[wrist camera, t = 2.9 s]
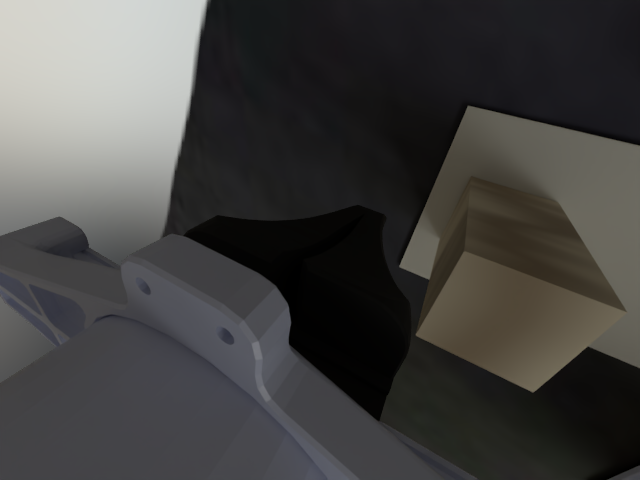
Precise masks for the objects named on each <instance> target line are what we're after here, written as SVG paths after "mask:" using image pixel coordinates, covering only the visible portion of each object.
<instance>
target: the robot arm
mask: <svg viewBox="0 0 640 480" xmlns="http://www.w3.org/2000/svg"><path fill="white" fill-rule="evenodd" d="M385 221H386V216H385V215H384V214H381V213H379V212H376V211H373V210H370V209H368V208H365V207H362V206H360V205H356V206H352V207H349V208H345V209H342V210H339V211H336V212H332V213H329V214H324V215H320V216H316V217H311V218H305V219H297V220H282V221H261V220H247V219H239V218H232V217H225V216H219V215H217V216H215V217H213V218H211V219H209V220H207V221H206V222H204V223H202V224H200V225H198V226H196V227H194V228H192V229H190V230H188V231H187V232H186V234H185V235H184V236H179V235H175V234H170V235H168V236H166V237H164V238H162V239H160V240H158V241H156V242H154V243H152V244H150V245H148V246H146V247H144V248H142V249H140V250H139V251H136V252H134V253H132V254H130V255H129V256H127V257H126V258H125V259H124V260H123V261H122V263H121V266H119V265H117V264H116V263H114V262H112V261H111V260H109V259H107V258H106V257H104V256H102V255H100V254H99V253H97V252H95V251H94V250H92V249H90V248H89V244H88V240H87V238H86V236H85V234H84V232H83V231H82V230H81V229H80V228H79V227H78V226H76V225H74V224H72V223H71V222H69V221H67V220H65V219H64V218H62V217H56V218H54V219H50V220H47V221H45V222H41V223H38V224H35V225H32V226H29V227H26V228H23V229H20V230H17V231H14V232H11V233H8V234H5V235H2V236H0V296H1V297H2V299H3V300H4V302H5V303H6V304H7V305H8V306H10V307H11V308H12V309H13V310H14V311H16V312H17V313H18V314H19V315H20V316H22V317H23V318H24V319H25V320H26V321H27V322H29V323H30V324H31V325H32V326H33V327H34V328H35V329H37V330H38V331H39V332H40V333H41V334H42V335H43V336H44V337H45V338H47V339H48V340H49V341H50V342H51V343H52V344H53V345H54V346H55V347H56V348H55V349H53V350H52V351H50V352H49V353H47V354H45V355H44V356H42V357H41V358H39V359H38V360H36V361H34V362H33V363H31V364H30V365H28V366H26V367H25V368H23V369H22V370H20V371H18V372H17V373H15V374H14V375H12V376H11V377H9V378H8V379H6V380H4V381H3V382H1V383H0V480H479V479H477V478H475V477H474V476H472V475H470V474H468V473H467V472H465V471H463V470H462V469H460V468H458V467H457V466H455V465H453V464H452V463H450V462H448V461H447V460H445V459H443V458H442V457H440V456H438V455H437V454H435V453H433V452H432V451H430V450H428V449H426V448H425V447H423V446H421V445H420V444H418V443H416V442H415V441H413V440H411V439H410V438H408V437H406V436H405V435H403V434H401V433H400V432H398V431H396V430H395V429H393V428H391V427H390V426H388V425H386V424H384V423H383V422H381V421H379V420H380V417H381V413H382V410H383V407H384V403H385V400H386V396H387V395H388V393H389V391H390V389H391V385H392V382H393V378H394V376H395V375H396V373H397V371H398V370H399V368H400V366H401V364H402V363H403V361H404V359H405V358H406V355H407V353H408V350H409V346H410V339H411V309H410V303H409V301H408V300H407V299H406V297H405V296H404V295H403V293H402V292H401V291H400V290H399V288H398V287H397V285H396V284H395V282H394V280H393V278H392V276H391V274H390V271H389V269H388V266H387V263H386V260H385V256H384V250H383V242H382V230H383V227H384V224H385ZM608 480H640V465H639V466H637V467H635V468H632V469H630V470H628V471H626V472H623V473H621V474H619V475H617V476H614V477H612V478H610V479H608Z"/></svg>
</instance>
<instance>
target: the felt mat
mask: <svg viewBox="0 0 640 480" xmlns="http://www.w3.org/2000/svg"><path fill="white" fill-rule="evenodd" d="M471 176H472V177H476V178H479V179H482V180H486V181H489V182H492V183H496V184H499V185H502V186H505V187H509V188H512V189H515V190H519V191H522V192H525V193H529V194H532V195H535V196H539V197H542V198H545V199H548V200H552V201H555V202H558V203H559V204H560V206H561V207H562V209H563V210H564V212H565V214H566V215H567V217H568V218H569V220H570V221H571V223H572V225H573V226H574V228H575V229H576V231H577V233H578V234H579V236H580V237H581V239H582V241H583V242H584V244H585V245H586V247H587V249H588V250H589V252H590V253H591V255H592V257H593V258H594V260H595V261H596V263H597V265H598V266H599V268H600V269H601V271H602V273H603V274H604V276H605V277H606V279H607V280H608V282H609V284H610V285H611V287H612V288H613V290H614V292H615V293H616V295H617V296H618V298H619V300H620V301H621V303H622V304H623V306H624V308H625V309H626V311H627V312H628V313H626V314H625V315H624V316H623V317H622V318H621V319H619V320H618V321H617V322H616V323H615V324H614V325H612V326H611V327H610V328H609V329H608V330H606V331H605V332H604V333H603V334H602V335H601V336H599V337H598V338H597V339H596V340H595V341H593V342H592V343H591V344H590V345H589V346H588V347H591V348H593V349H595V350H598V351H600V352H603V353H605V354H607V355H610V356H612V357H615V358H617V359H619V360H622V361H624V362H626V363H629V364H631V365H634V366H636V367H638V368H640V145H635V144H631V143H627V142H622V141H618V140H614V139H610V138H605V137H601V136H597V135H593V134H588V133H584V132H580V131H575V130H571V129H567V128H563V127H558V126H554V125H550V124H546V123H541V122H537V121H533V120H528V119H524V118H520V117H516V116H511V115H507V114H503V113H498V112H494V111H490V110H486V109H481V108H477V107H473V106H469V105H468V107H467V109H466V112H465V114H464V116H463V119H462V121H461V123H460V126H459V128H458V130H457V133H456V135H455V137H454V140H453V142H452V144H451V147H450V149H449V151H448V154H447V156H446V158H445V161H444V163H443V166H442V168H441V170H440V173H439V175H438V177H437V180H436V182H435V184H434V187H433V189H432V191H431V194H430V196H429V198H428V201H427V203H426V205H425V208H424V210H423V212H422V215H421V217H420V219H419V222H418V224H417V226H416V229H415V231H414V233H413V236H412V238H411V240H410V243H409V245H408V247H407V250H406V252H405V254H404V257H403V259H402V261H401V264H400V266H399V267H401V268H403V269H405V270H408V271H410V272H412V273H415V274H417V275H420V276H422V277H424V278H427V279H429V280H430V276H431V272H432V268H433V264H434V260H435V256H436V252H437V248H438V244H439V240H440V237H441V235H442V233H443V231H444V229H445V227H446V225H447V223H448V221H449V219H450V217H451V215H452V213H453V211H454V209H455V207H456V205H457V203H458V201H459V199H460V197H461V195H462V193H463V191H464V189H465V187H466V185H467V183H468V181H469V179H470V177H471Z"/></svg>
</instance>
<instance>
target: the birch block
mask: <svg viewBox="0 0 640 480" xmlns="http://www.w3.org/2000/svg"><path fill="white" fill-rule="evenodd" d="M626 313H628V312H627V311H626V309H625V308H624V306H623V304H622V303H621V301H620V300H619V298H618V296H617V295H616V293H615V292H614V290H613V288H612V287H611V285H610V284H609V282H608V280H607V279H606V277H605V276H604V274H603V273H602V271H601V269H600V268H599V266H598V265H597V263H596V261H595V260H594V258H593V257H592V255H591V253H590V252H589V250H588V249H587V247H586V245H585V244H584V242H583V241H582V239H581V237H580V236H579V234H578V233H577V231H576V229H575V228H574V226H573V225H572V223H571V221H570V220H569V218H568V217H567V215H566V214H565V212H564V210H563V209H562V207H561V206H560V204H559V203H558V202H555V201H552V200H548V199H545V198H542V197H539V196H535V195H532V194H529V193H525V192H522V191H519V190H515V189H512V188H509V187H505V186H502V185H499V184H496V183H492V182H489V181H486V180H482V179H479V178H476V177H472V176H471V177H470V179H469V181H468V183H467V185H466V187H465V189H464V191H463V193H462V195H461V197H460V199H459V201H458V203H457V205H456V207H455V209H454V211H453V213H452V215H451V217H450V219H449V221H448V223H447V225H446V227H445V229H444V231H443V233H442V235H441V237H440V240H439V244H438V248H437V252H436V256H435V260H434V264H433V268H432V272H431V276H430V280H429V284H428V288H427V292H426V296H425V299H424V303H423V307H422V311H421V315H420V319H419V323H418V327H417V331H416V336H418V337H420V338H422V339H424V340H426V341H428V342H430V343H432V344H434V345H436V346H438V347H440V348H442V349H444V350H446V351H449V352H451V353H453V354H455V355H457V356H459V357H461V358H463V359H465V360H467V361H469V362H471V363H473V364H475V365H477V366H480V367H482V368H484V369H486V370H488V371H490V372H492V373H494V374H496V375H498V376H500V377H502V378H504V379H506V380H508V381H510V382H513V383H515V384H517V385H519V386H521V387H523V388H525V389H527V390H529V391H531V392H535V391H536V390H537V389H538V388H539V387H541V386H542V385H543V384H544V383H545V382H546V381H548V380H549V379H550V378H551V377H552V376H553V375H555V374H556V373H557V372H558V371H559V370H561V369H562V368H563V367H564V366H565V365H566V364H568V363H569V362H570V361H571V360H572V359H573V358H575V357H576V356H577V355H578V354H579V353H581V352H582V351H583V350H584V349H585V348H586V347H588V346H589V345H590V344H591V343H592V342H593V341H595V340H596V339H597V338H598V337H599V336H601V335H602V334H603V333H604V332H605V331H606V330H608V329H609V328H610V327H611V326H612V325H614V324H615V323H616V322H617V321H618V320H619V319H621V318H622V317H623V316H624V315H625V314H626Z"/></svg>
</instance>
